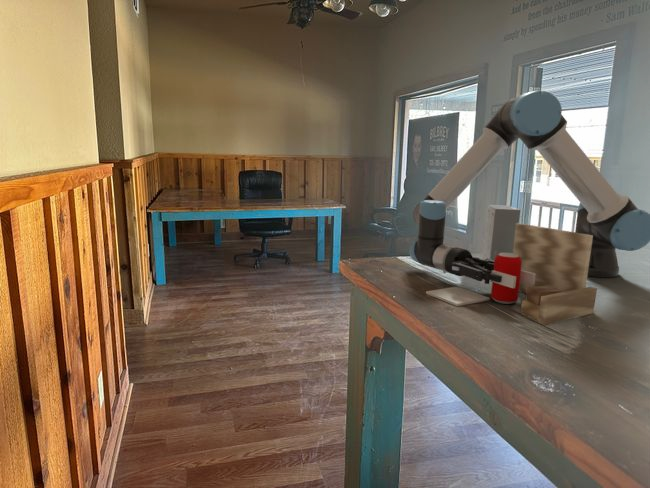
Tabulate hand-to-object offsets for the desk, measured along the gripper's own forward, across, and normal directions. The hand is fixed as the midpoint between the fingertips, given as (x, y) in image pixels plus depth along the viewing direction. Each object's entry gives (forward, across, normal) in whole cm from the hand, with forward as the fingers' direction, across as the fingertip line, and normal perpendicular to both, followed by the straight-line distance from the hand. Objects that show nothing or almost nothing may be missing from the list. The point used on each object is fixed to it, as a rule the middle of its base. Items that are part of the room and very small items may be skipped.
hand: (524, 280), depth 107 cm
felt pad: (-13, +8, -7) cm, 17 cm away
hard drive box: (-32, -29, -7) cm, 44 cm away
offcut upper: (+5, 0, -4) cm, 6 cm away
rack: (-2, -4, -7) cm, 8 cm away
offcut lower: (+5, 0, -7) cm, 9 cm away
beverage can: (-5, 0, -7) cm, 8 cm away
